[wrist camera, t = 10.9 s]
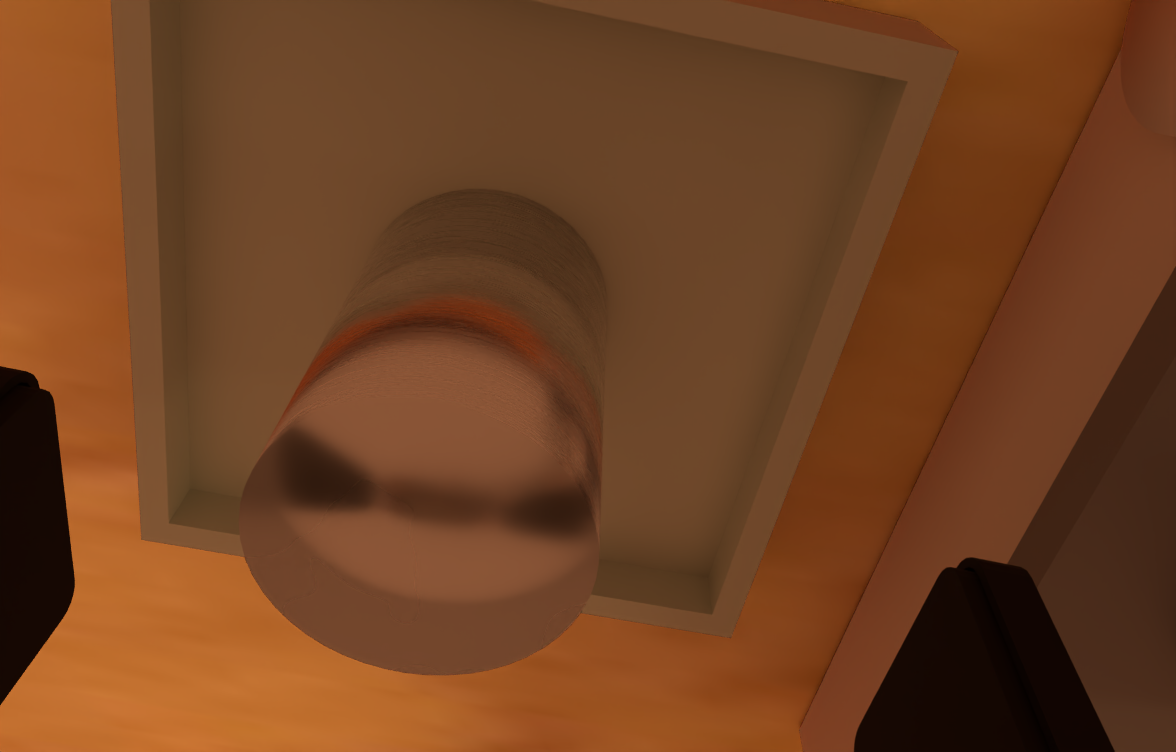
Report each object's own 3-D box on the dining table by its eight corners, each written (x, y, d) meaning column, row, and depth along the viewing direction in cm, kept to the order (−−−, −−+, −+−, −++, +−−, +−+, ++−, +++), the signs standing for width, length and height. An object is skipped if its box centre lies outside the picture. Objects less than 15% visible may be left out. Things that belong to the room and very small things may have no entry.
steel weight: (459, 136, 14) (368, 328, 9) (657, 294, 16) (674, 540, 10) (318, 314, 16) (174, 561, 11) (507, 444, 17) (459, 720, 12)
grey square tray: (169, -144, 13) (103, -136, 12) (918, 21, 14) (958, 51, 13) (184, 473, 19) (141, 539, 17) (721, 566, 20) (731, 638, 18)
